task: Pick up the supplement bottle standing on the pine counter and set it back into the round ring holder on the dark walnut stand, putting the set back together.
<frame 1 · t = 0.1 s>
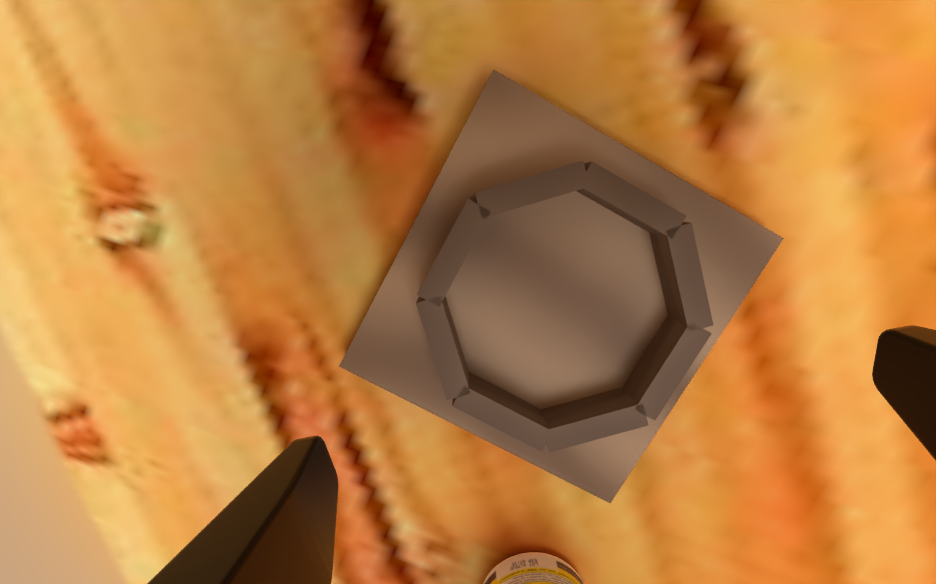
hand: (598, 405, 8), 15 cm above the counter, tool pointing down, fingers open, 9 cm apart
walnut stand: (550, 296, 24), on the counter
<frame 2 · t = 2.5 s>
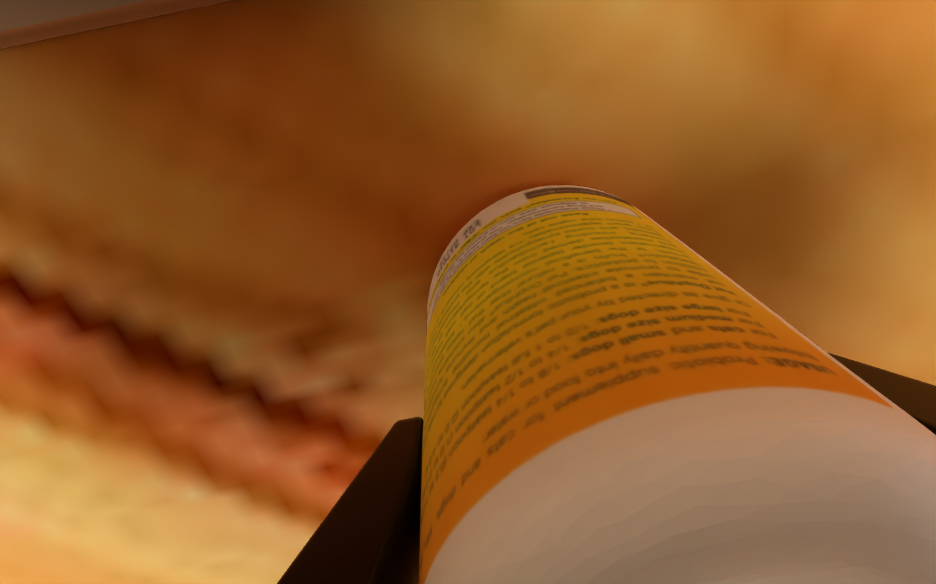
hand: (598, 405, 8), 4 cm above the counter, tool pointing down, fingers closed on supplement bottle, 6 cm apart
supplement bottle: (546, 294, 12), on the counter, touching gripper
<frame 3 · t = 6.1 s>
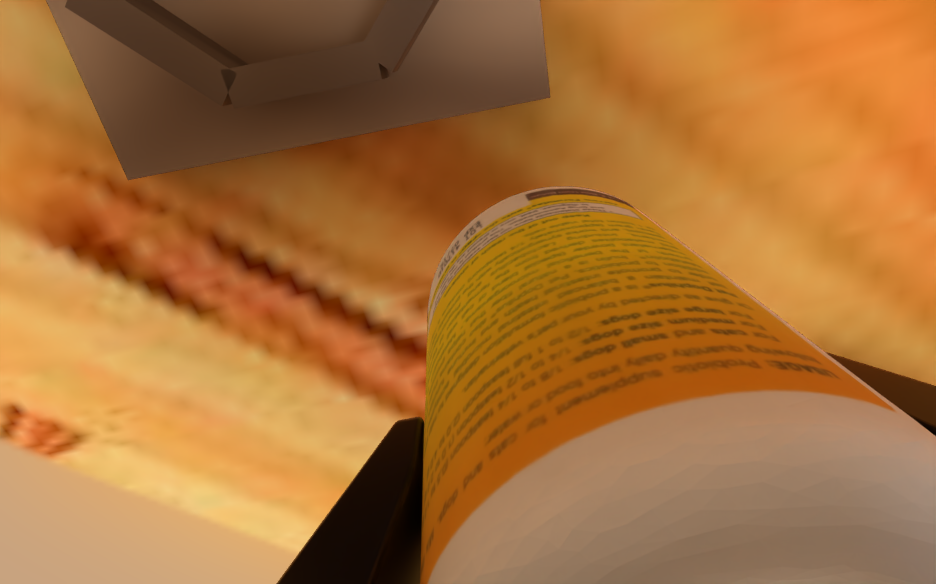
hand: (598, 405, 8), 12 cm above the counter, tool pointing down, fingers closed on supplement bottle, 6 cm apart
supplement bottle: (547, 295, 12), point 8 cm above the counter, touching gripper
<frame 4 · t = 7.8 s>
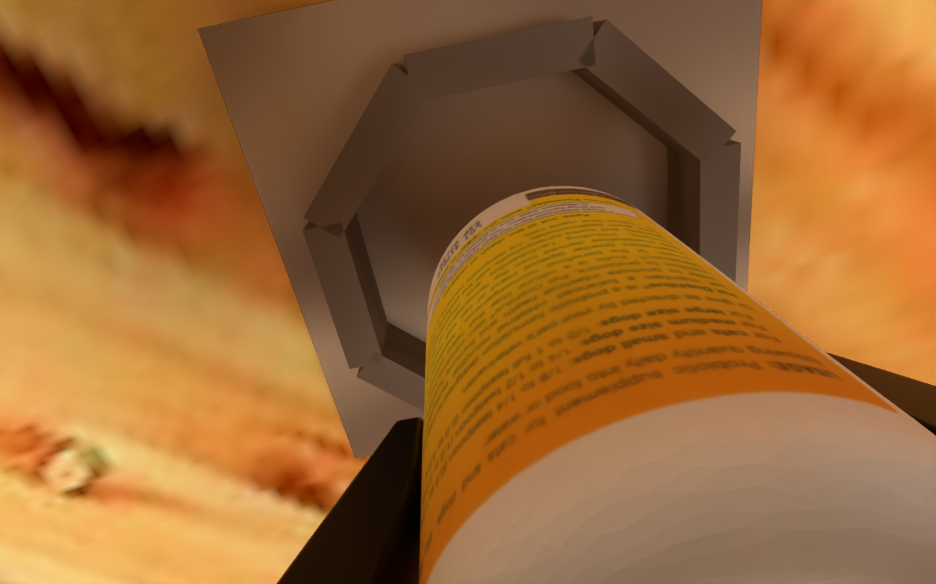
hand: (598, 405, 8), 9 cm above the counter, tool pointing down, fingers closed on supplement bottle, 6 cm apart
walnut stand: (512, 224, 17), on the counter
supplement bottle: (546, 295, 12), point 5 cm above the counter, touching gripper
when the fingers open (6 cm above the counter, at t = 9.2 s): supplement bottle stays where it is, resting on walnut stand.
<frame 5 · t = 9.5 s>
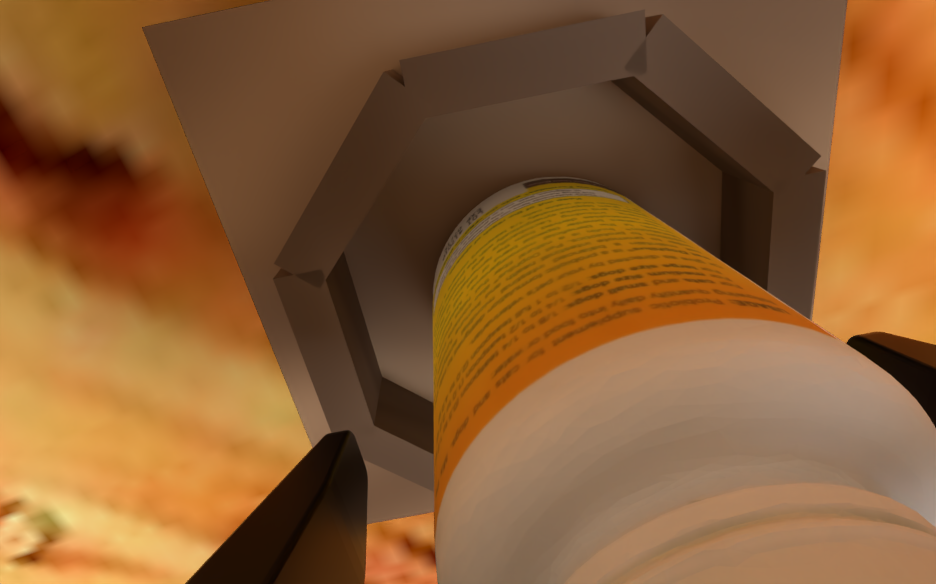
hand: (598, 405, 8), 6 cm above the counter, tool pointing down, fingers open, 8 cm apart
walnut stand: (530, 259, 14), on the counter
supplement bottle: (543, 281, 13), point 1 cm above the counter, touching walnut stand
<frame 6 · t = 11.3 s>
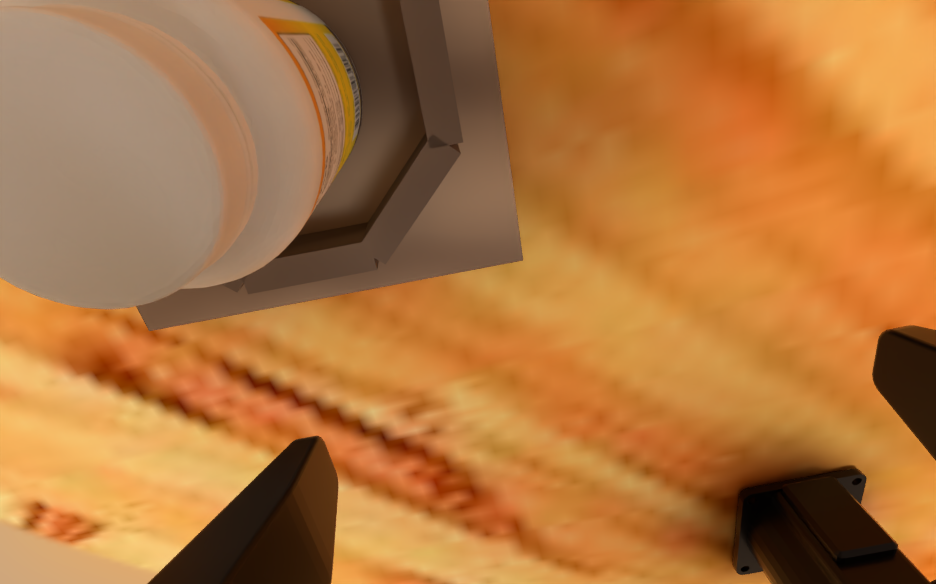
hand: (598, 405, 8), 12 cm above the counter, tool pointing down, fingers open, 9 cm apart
walnut stand: (283, 91, 17), on the counter
supplement bottle: (276, 97, 16), point 1 cm above the counter, touching walnut stand
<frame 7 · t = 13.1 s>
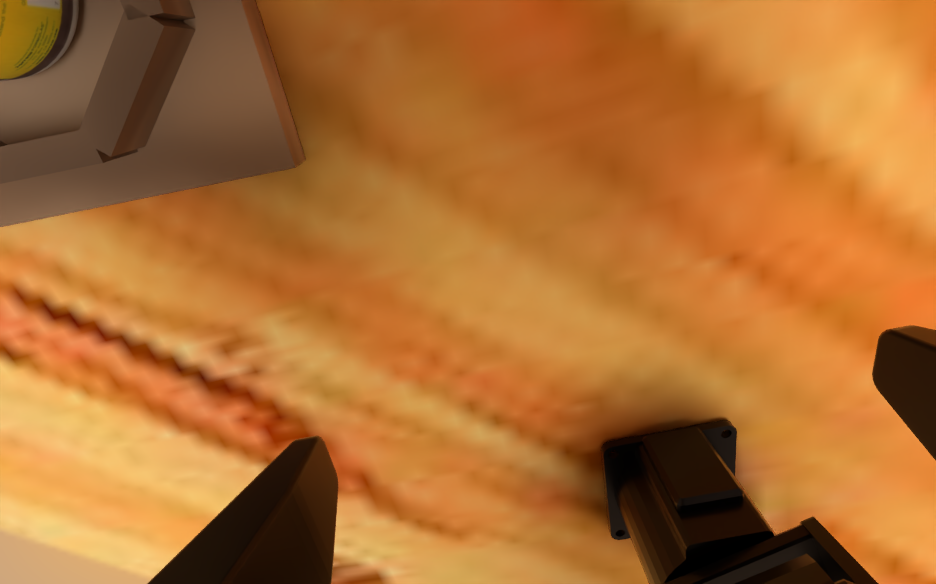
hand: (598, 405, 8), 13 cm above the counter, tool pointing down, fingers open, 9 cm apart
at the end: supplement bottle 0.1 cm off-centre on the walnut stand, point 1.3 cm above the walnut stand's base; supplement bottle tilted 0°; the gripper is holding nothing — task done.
